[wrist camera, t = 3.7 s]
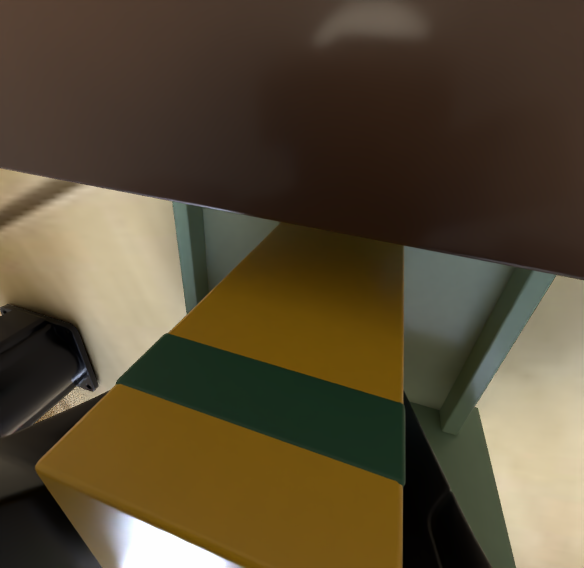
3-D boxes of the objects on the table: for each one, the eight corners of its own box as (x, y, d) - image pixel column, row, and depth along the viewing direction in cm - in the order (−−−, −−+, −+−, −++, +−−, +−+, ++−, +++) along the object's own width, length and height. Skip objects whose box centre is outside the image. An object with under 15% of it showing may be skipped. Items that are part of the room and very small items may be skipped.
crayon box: (366, 368, 13) (316, 715, 6) (276, 343, 14) (133, 615, 7) (405, 236, 10) (409, 638, 2) (285, 214, 11) (26, 465, 3)
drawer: (443, 462, 16) (460, 628, 11) (199, 382, 19) (125, 483, 14) (609, 201, 9) (889, 338, 4) (169, 138, 12) (-5, 167, 7)
